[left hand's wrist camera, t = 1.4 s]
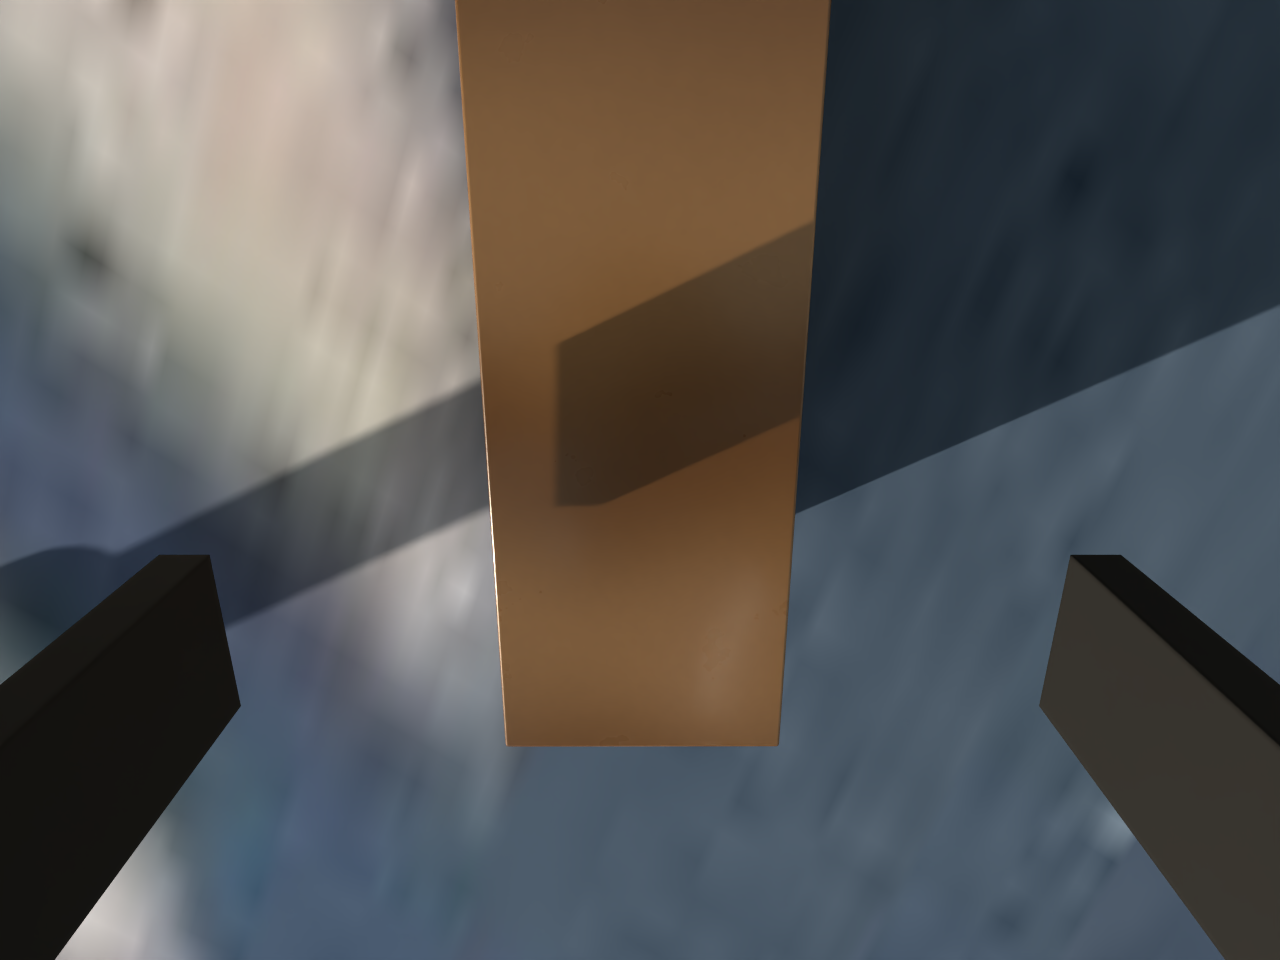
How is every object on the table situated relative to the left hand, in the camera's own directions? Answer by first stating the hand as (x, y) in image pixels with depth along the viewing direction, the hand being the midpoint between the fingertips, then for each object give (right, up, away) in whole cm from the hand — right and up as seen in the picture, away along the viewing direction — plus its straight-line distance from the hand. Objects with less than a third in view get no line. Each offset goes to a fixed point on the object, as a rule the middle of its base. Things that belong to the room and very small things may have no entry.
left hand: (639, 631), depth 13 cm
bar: (0, +13, +7) cm, 14 cm away
